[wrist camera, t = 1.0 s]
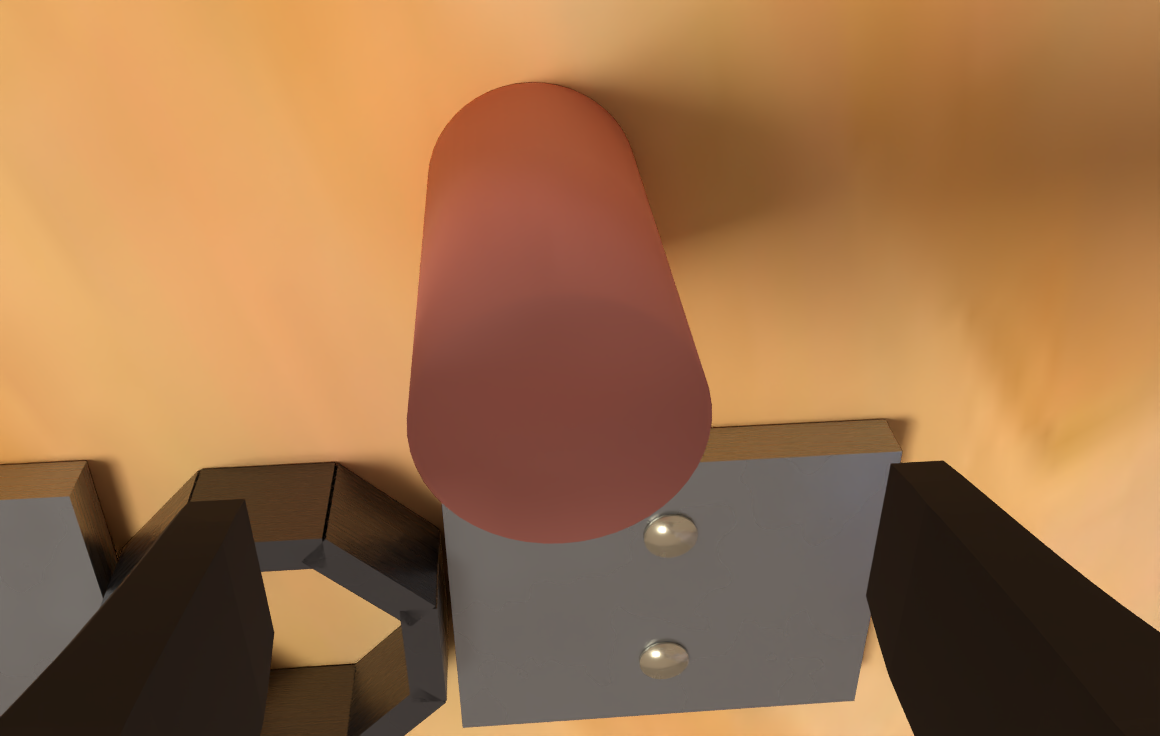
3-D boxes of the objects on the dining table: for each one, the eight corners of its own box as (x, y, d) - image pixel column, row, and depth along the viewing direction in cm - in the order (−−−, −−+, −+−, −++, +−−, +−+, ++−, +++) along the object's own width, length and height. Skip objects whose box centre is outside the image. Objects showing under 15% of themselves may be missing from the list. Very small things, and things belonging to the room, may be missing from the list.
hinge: (841, 665, 29) (869, 742, 27) (-247, 737, 27) (-306, 827, 25) (885, 419, 25) (922, 489, 23) (-404, 486, 23) (-491, 569, 21)
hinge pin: (634, 272, 22) (703, 535, 16) (436, 280, 22) (419, 551, 15) (638, 79, 20) (722, 287, 13) (419, 85, 20) (392, 301, 13)
